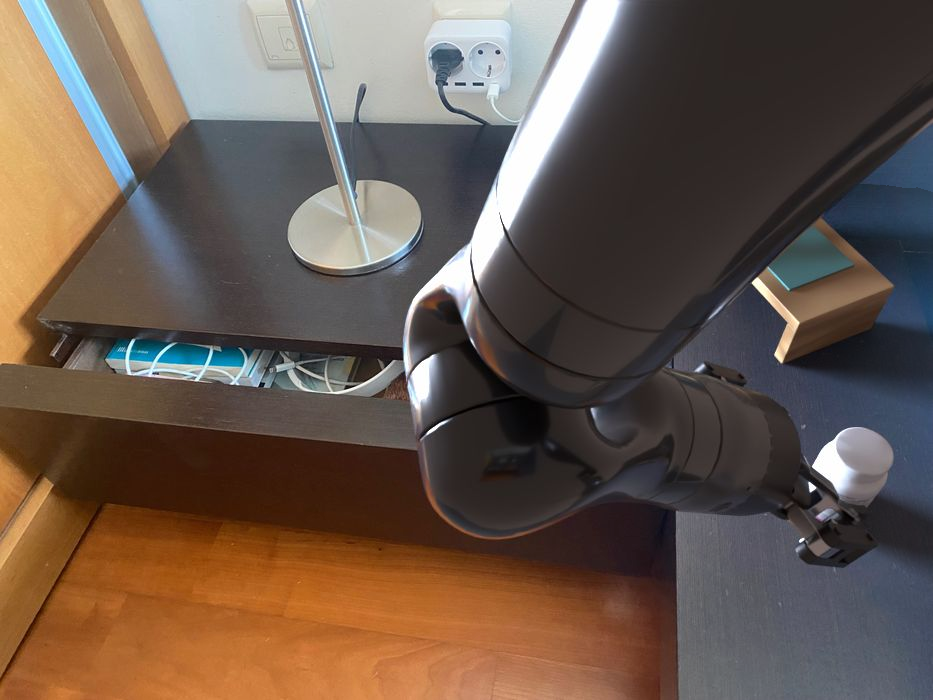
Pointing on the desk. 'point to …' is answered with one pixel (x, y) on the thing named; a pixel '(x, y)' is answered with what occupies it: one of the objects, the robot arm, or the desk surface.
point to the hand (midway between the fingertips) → (815, 467)
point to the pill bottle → (855, 466)
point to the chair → (822, 291)
